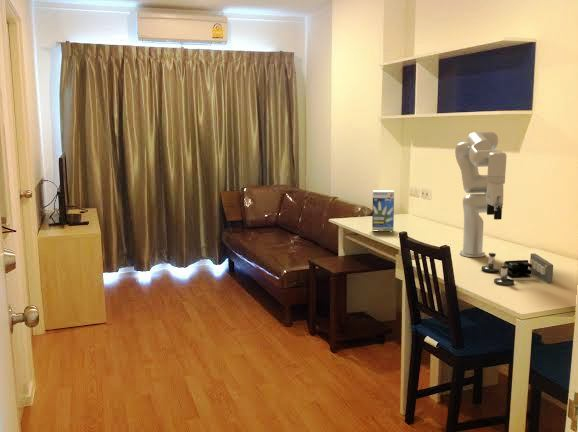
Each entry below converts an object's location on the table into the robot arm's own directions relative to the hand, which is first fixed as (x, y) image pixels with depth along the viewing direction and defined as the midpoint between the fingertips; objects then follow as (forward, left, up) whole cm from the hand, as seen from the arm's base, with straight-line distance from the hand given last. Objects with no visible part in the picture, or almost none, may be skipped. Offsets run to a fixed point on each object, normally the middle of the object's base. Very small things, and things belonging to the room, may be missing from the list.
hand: (493, 216), depth 250 cm
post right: (+19, -1, -26) cm, 32 cm away
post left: (0, -1, -25) cm, 25 cm away
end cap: (+10, +8, -25) cm, 28 cm away
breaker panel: (+10, +18, -25) cm, 33 cm away
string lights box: (-93, -40, -26) cm, 104 cm away
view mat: (+10, +8, -25) cm, 28 cm away
